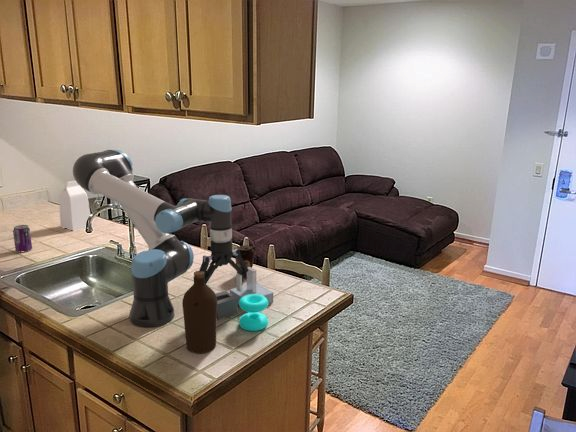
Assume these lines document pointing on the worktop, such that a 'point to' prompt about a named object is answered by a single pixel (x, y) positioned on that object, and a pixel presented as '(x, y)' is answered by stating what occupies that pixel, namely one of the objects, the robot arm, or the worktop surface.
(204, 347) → the olive oil
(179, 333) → the worktop surface
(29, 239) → the beverage can
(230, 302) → the grey block
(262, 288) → the base
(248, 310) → the donuts
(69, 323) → the worktop surface
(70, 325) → the worktop surface
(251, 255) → the coffee cup
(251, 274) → the post
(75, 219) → the milk
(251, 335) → the worktop surface
